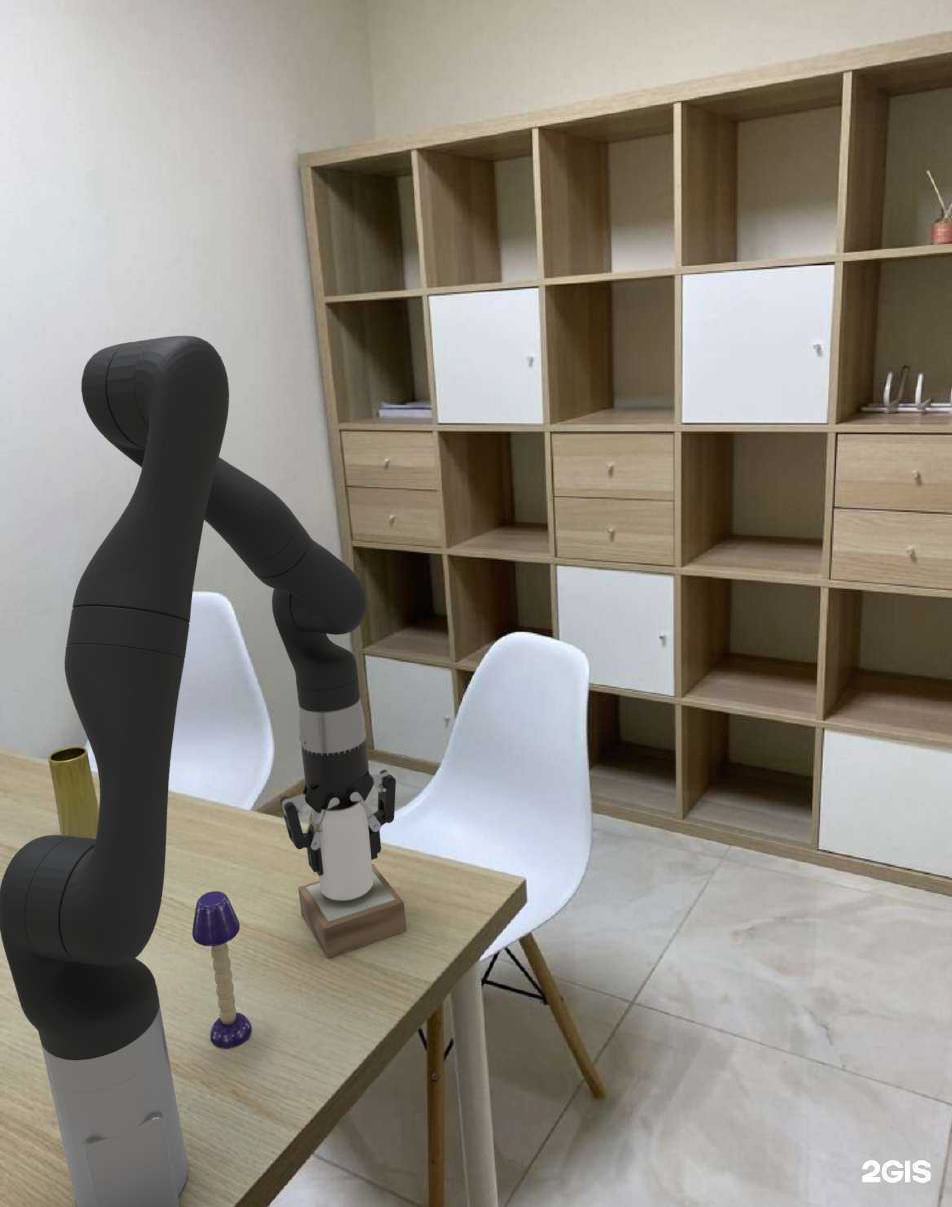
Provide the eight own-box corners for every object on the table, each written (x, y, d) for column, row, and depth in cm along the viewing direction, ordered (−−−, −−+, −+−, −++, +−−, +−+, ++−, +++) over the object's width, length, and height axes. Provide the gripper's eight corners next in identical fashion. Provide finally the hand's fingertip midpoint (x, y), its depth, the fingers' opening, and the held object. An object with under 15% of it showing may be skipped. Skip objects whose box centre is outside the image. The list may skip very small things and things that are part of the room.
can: (309, 895, 116) (299, 806, 113) (340, 868, 121) (331, 782, 118) (354, 907, 113) (344, 816, 110) (384, 879, 119) (375, 791, 115)
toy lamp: (264, 1030, 101) (245, 892, 97) (230, 1058, 98) (208, 916, 93) (232, 1014, 104) (212, 879, 99) (198, 1041, 100) (176, 902, 96)
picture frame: (406, 930, 117) (403, 900, 116) (327, 958, 112) (324, 927, 111) (375, 890, 125) (372, 862, 124) (301, 915, 121) (298, 885, 120)
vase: (61, 838, 143) (44, 750, 139) (104, 827, 145) (89, 741, 141) (63, 857, 138) (45, 766, 134) (108, 846, 140) (92, 756, 136)
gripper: (282, 764, 105) (298, 897, 110) (402, 733, 112) (413, 861, 116) (263, 740, 112) (279, 867, 117) (378, 712, 118) (389, 834, 123)
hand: (346, 863), depth 116 cm, fingers closed on can, 6 cm apart
